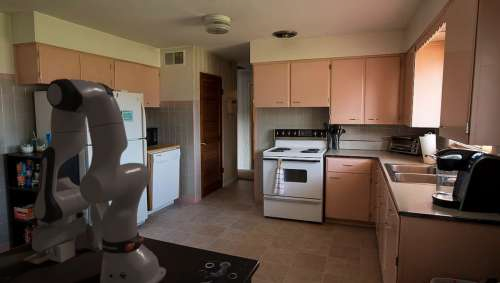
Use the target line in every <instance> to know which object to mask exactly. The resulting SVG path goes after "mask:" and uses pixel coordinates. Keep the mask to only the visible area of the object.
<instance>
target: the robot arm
mask: <svg viewBox="0 0 500 283" xmlns="http://www.w3.org/2000/svg"><path fill="white" fill-rule="evenodd" d="M46 99H47V101H48V103H49V104H50V106H51V107H52V108H51V112H50V113H51V114H50V140H49V143H48V145H47V147H46V148H45V149H43V151H42V153H41V157H40V161H39V162H40V163H39V171H38V182H37V190H36V197H35V199H34V204H33V214H34V216H35V218H36V219H38V220H40V221H42V222H45V223H44V224H42V225H39V226H38V225H36V226H35V228H34V229H33V230H32V231H31V232H32V240H31V242H32V243H31V248H32V250H34V252H35V251H39V252H41V251H43V250H45V249H46V251H48V252H49V254H50V257H54V256H56V251H53V250H52V249H53V246H54V245H57V244H59V243H61V242H63V241H66V240H68V239H69V240H74V243H76V240H77V236H79V235H81V234H84V233H86V232H87V231H86V230H87V219H86V217H85V216H86V213H85V211H86V210H87V209H88V208H90V203H91V204H95V203H105V202H109V205H110V206H109V208H108V209H107V210H106V211H105V213H104V214H103V217H102V227H103V238H102V250H101V251H102V252H103V254H102V261H101V271H100V276H99V281H100V282H99V283H159V282H160V281H162V280H163V278H164V277H165V276H166V274H167V269H166V268H165V267H162V266H160V264H159V260H158V257H157V256H156V255H155V254H154V252H153V251H152V250H149V248H147V247H146V246H145V245H144V244H143V241H144V240H145V237H144V236H142V237H141V236H140V233H139V232H138V211H139V210H138V208H139V205H140V201H141V198H142V195H143V193H144V191H145V189H146V188H147V187H148V185H149V183H150V181H151V173H150V170H149V168H148V166H146V165H145V164H144V163H141V162H128V163H122V164H121V159H122V154H123V153H124V152H125V151H126V150H127V148H128V145H129V143H128V138H127V133H126V132H127V131H126V128H125V124H124V118H123V114H122V112H121V109H120V106H119V104H118V101H117V100H116V98H115V95H114V91H113V89H111V87H110V86H108V85H107V84H104V83H101V82H93V81H89V80H84V79H74V78H73V79H69V78H57V79H53V80H52V81H51V82H50V83H49V84H48V86H47V88H46ZM86 121H87V126H86ZM87 127H88V132H89V139H90V143H91V150H92V151H91V152H92V153H91V161H90V164H89V167H88V169H87V171H86V173H85V174H84V175H83V176H82V178H81V179H80V183H79V185H77V184H75V183H73V182H72V181H71V178H70V177H69V176H61V177H58V175H59V174H58V173H59V169H60V168H61V166H62V165H63V164H64V163H65V162H67V161H68V160H69V159H71V158H73V157H75V156H77V155H79V154H80V153H81V152H82V151H83V150H84V149H85V147H86V145H87V139H88V138H87V136H88V135H87Z"/></svg>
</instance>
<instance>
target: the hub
mask: <svg viewBox="0 0 500 283" xmlns="http://www.w3.org/2000/svg"><path fill="white" fill-rule="evenodd" d="M48 260H50V254H49V252H48V251H47V250H46V249H45V250H43V251H41V252H39V251H35V250H34V254H32V255H30V256H28V257H25V258H23V261H24V262H28V263H31V264H36V265H40V264H42V263H43V262H46V261H48Z"/></svg>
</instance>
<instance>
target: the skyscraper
mask: <svg viewBox="0 0 500 283" xmlns="http://www.w3.org/2000/svg"><path fill="white" fill-rule="evenodd" d="M109 206H110V201H109V202H105V203H95V204H91V203H90V206H89V216H90V223H91V228H92V231H93V235H94V237H93V242H92V238H91V228H90V223H89V219H88V218H87V219H86V225H87V229H86V231H85V232H86V246H87V247H86V249H87V250H90V251H94V252H100V251H103V250H102V238H103V227H102V217H103V214H104V213H105V211H106V210H107V209H108V208H109Z"/></svg>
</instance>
